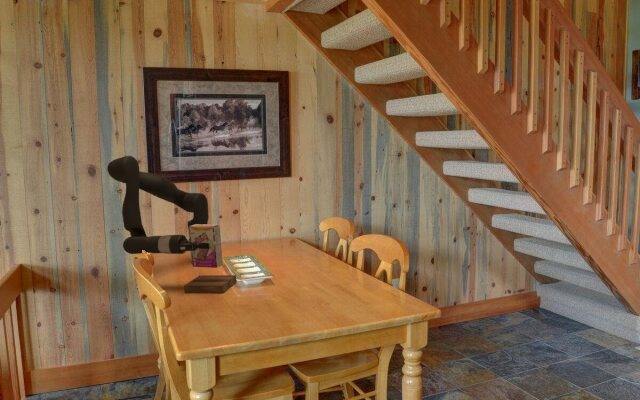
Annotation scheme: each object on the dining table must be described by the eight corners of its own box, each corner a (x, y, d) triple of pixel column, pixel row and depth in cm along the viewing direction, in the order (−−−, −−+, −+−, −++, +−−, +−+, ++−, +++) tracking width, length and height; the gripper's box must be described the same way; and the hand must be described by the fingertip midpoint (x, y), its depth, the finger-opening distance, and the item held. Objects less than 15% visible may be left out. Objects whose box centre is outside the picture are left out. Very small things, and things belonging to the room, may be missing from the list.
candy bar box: (192, 267, 209) (188, 226, 207) (198, 264, 214) (195, 223, 212) (217, 268, 206) (213, 226, 203) (223, 264, 210) (220, 224, 208)
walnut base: (200, 282, 220) (199, 275, 219) (236, 282, 216) (235, 275, 216) (184, 293, 206) (183, 285, 206) (222, 293, 202) (222, 285, 202)
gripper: (162, 239, 205) (203, 238, 201) (180, 231, 218) (218, 230, 214) (164, 258, 206) (205, 258, 202) (182, 249, 219) (220, 249, 215)
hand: (211, 244), depth 208 cm, fingers closed on candy bar box, 5 cm apart
